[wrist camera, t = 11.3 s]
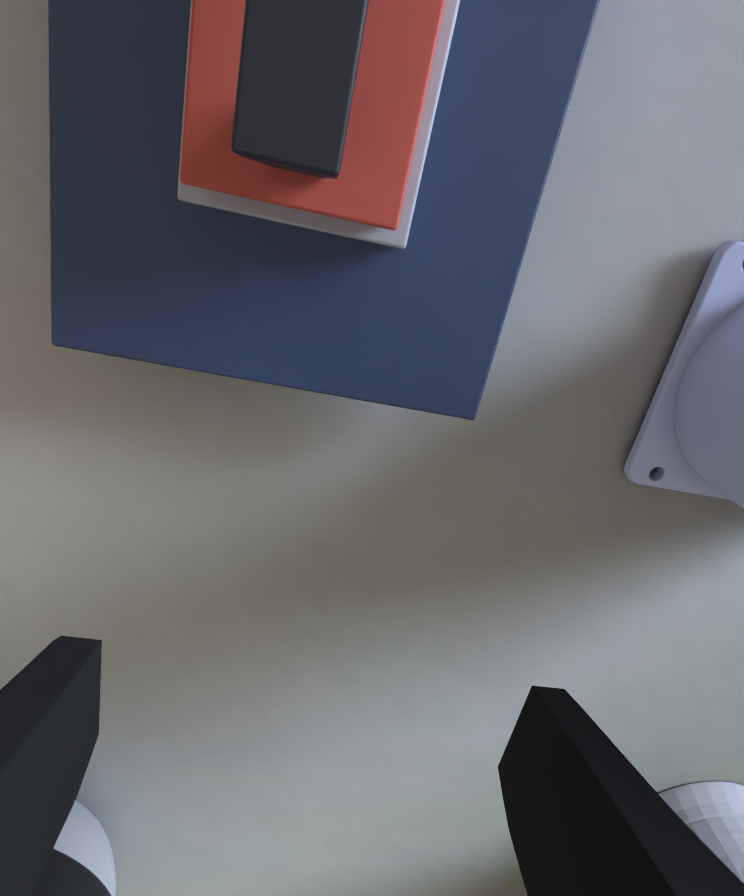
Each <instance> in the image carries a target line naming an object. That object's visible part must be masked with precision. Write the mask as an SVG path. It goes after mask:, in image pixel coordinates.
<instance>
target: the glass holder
mask: <svg viewBox="0 0 744 896" xmlns="http://www.w3.org/2000/svg"><path fill="white" fill-rule="evenodd" d="M658 794H659V795H660V797H661V798H662V799H663V800H664V801H665V802H666V803H667V804H668V805H669V806H670V807H671V809H672V810H673V811H674V812H675V813H676V814H677V815H678V816H679V817H680V818H681V819H682V820H683V821H684V823H685V824H686V825H687V826H688V827H689V828H690V829H691V830H692V831H693V832H694V833H695V834H696V835H697V836H698V837H699V838H700V839H701V841H702V842H703V843H704V844H705V845H706V846H707V847H708V848H709V849H710V850H711V851H712V852H713V853H714V854H715V855H716V856H717V857H718V858H719V859H720V860H721V861H722V862H723V863H724V864H725V865H726V866H727V867H728V868H729V869H730V870H731V871H732V872H733V873H734V874H735V875H736V876H737V877H738V878H739V879H740V880H741V881H742V882H743V883H744V786H743V785H739V784H735V783H729V782H700V783H693V784H687V785H683V786H679V787H675V788H672V789H669V790H666V791H664V792H661V793H658Z"/></svg>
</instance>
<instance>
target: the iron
mask: <svg viewBox="0 0 744 896" xmlns="http://www.w3.org/2000/svg"><path fill="white" fill-rule="evenodd" d="M459 4H460V0H191V7H190V21H189V35H188V50H187V64H186V78H185V93H184V107H183V121H182V136H181V150H180V164H179V179H178V193H177V196H178V199H179V200H181V201H184V202H189V203H193V204H198V205H203V206H207V207H212V208H216V209H221V210H225V211H230V212H235V213H239V214H244V215H248V216H253V217H257V218H262V219H267V220H271V221H276V222H280V223H285V224H289V225H294V226H299V227H303V228H308V229H312V230H317V231H322V232H326V233H331V234H335V235H340V236H344V237H349V238H354V239H358V240H363V241H367V242H372V243H376V244H381V245H386V246H390V247H395V248H399V249H404V248H405V247H406V244H407V240H408V235H409V231H410V226H411V222H412V217H413V213H414V208H415V204H416V199H417V195H418V190H419V185H420V181H421V176H422V172H423V167H424V163H425V158H426V154H427V149H428V145H429V140H430V135H431V131H432V126H433V122H434V117H435V113H436V108H437V104H438V99H439V95H440V90H441V86H442V81H443V76H444V72H445V67H446V63H447V58H448V54H449V49H450V45H451V40H452V36H453V31H454V26H455V22H456V17H457V13H458V8H459Z"/></svg>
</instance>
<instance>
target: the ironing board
mask: <svg viewBox="0 0 744 896" xmlns="http://www.w3.org/2000/svg"><path fill="white" fill-rule="evenodd" d="M599 1H600V0H460V4H459V8H458V13H457V17H456V22H455V26H454V31H453V36H452V40H451V45H450V49H449V54H448V58H447V63H446V67H445V72H444V76H443V81H442V86H441V90H440V95H439V99H438V104H437V108H436V113H435V117H434V122H433V126H432V131H431V135H430V140H429V145H428V149H427V154H426V158H425V163H424V167H423V172H422V176H421V181H420V185H419V190H418V195H417V199H416V204H415V208H414V213H413V217H412V222H411V226H410V231H409V235H408V240H407V244H406V247H405V248H404V249H399V248H395V247H390V246H386V245H381V244H376V243H372V242H367V241H363V240H358V239H354V238H349V237H344V236H340V235H335V234H331V233H326V232H322V231H317V230H312V229H308V228H303V227H299V226H294V225H289V224H285V223H280V222H276V221H271V220H267V219H262V218H257V217H253V216H248V215H244V214H239V213H235V212H230V211H225V210H221V209H216V208H212V207H207V206H203V205H198V204H193V203H189V202H184V201H181V200H179V199H178V196H177V193H178V179H179V164H180V150H181V136H182V121H183V107H184V93H185V78H186V64H187V50H188V35H189V21H190V7H191V0H48V9H49V112H50V214H51V316H52V344H53V345H55V346H59V347H65V348H71V349H76V350H82V351H88V352H93V353H99V354H104V355H110V356H116V357H121V358H127V359H132V360H138V361H144V362H149V363H155V364H160V365H166V366H172V367H177V368H183V369H189V370H194V371H200V372H205V373H211V374H217V375H222V376H228V377H233V378H239V379H245V380H250V381H256V382H261V383H267V384H273V385H278V386H284V387H290V388H295V389H301V390H306V391H312V392H318V393H323V394H329V395H334V396H340V397H346V398H351V399H357V400H362V401H368V402H374V403H379V404H385V405H391V406H396V407H402V408H407V409H413V410H419V411H424V412H430V413H435V414H441V415H447V416H452V417H458V418H463V419H469V420H474V419H475V417H476V413H477V410H478V407H479V403H480V400H481V397H482V393H483V390H484V387H485V383H486V380H487V377H488V373H489V370H490V366H491V363H492V360H493V356H494V353H495V350H496V346H497V343H498V340H499V336H500V333H501V330H502V326H503V323H504V320H505V316H506V313H507V309H508V306H509V303H510V299H511V296H512V293H513V289H514V286H515V283H516V279H517V276H518V273H519V269H520V266H521V262H522V259H523V256H524V252H525V249H526V246H527V242H528V239H529V236H530V232H531V229H532V226H533V222H534V219H535V216H536V212H537V209H538V205H539V202H540V199H541V195H542V192H543V189H544V185H545V182H546V179H547V175H548V172H549V169H550V165H551V162H552V159H553V155H554V152H555V148H556V145H557V142H558V138H559V135H560V132H561V128H562V125H563V122H564V118H565V115H566V112H567V108H568V105H569V102H570V98H571V95H572V91H573V88H574V85H575V81H576V78H577V75H578V71H579V68H580V65H581V61H582V58H583V55H584V51H585V48H586V44H587V41H588V38H589V34H590V31H591V28H592V24H593V21H594V18H595V14H596V11H597V8H598V4H599Z"/></svg>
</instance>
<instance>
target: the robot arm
mask: <svg viewBox="0 0 744 896" xmlns="http://www.w3.org/2000/svg"><path fill="white" fill-rule="evenodd" d="M743 261H744V242H741V241H728V242H726V243H723V244H722V245H721V246H720V247H719V248H717V250H716V252H715V253H714V255H713V257H712V260H711V262H710V264H709V267H708V269H707V271H706V274H705V276H704V279H703V281H702V283H701V286H700V288H699V290H698V293H697V295H696V298H695V300H694V302H693V305H692V307H691V309H690V312H689V314H688V316H687V319H686V321H685V324H684V326H683V328H682V331H681V333H680V335H679V338H678V340H677V343H676V345H675V347H674V350H673V352H672V354H671V357H670V359H669V362H668V364H667V366H666V369H665V371H664V373H663V376H662V378H661V381H660V383H659V385H658V388H657V390H656V392H655V395H654V397H653V399H652V402H651V404H650V407H649V409H648V411H647V414H646V416H645V418H644V421H643V423H642V426H641V428H640V430H639V433H638V435H637V437H636V440H635V442H634V445H633V447H632V449H631V452H630V454H629V456H628V459H627V461H626V464H625V467H624V473H625V475H626V476H627V478H628V479H629V480H631V481H632V482H633V483H636V484H640V485H646V486H652V487H658V488H664V489H670V490H676V491H682V492H688V493H694V494H699V495H705V496H711V497H717V498H723V499H729V500H732V501H734V502H735V503H736V504H738V505H739V506H740V507H742V508H743V509H744V270H743V267H742V264H743ZM655 467H658V470H657V472H656V473H655V474H653V475H650V476H649V473H650V471H651V470H652V469H654V468H655ZM101 646H102V640H95V639H86V638H76V637H67V636H60V637H58V638H57V639H55V640H54V641H52V642H51V643H50V644H49V645H48V646H47V647H46V648H45V649H44V650H43V651H42V652H41V653H40V654H39V655H38V656H36V657H35V658H34V659H33V660H32V661H31V662H30V663H29V664H28V665H27V666H26V667H25V668H24V669H23V670H22V671H20V672H19V673H18V674H17V675H16V676H15V677H14V678H13V679H12V680H11V681H10V682H9V683H7V684H6V685H5V686H4V687H3V688H2V689H1V690H0V896H31V895H32V892H33V890H34V888H35V886H36V884H37V882H38V880H39V878H40V876H41V873H42V871H43V869H44V867H45V865H46V863H47V861H48V858H49V856H50V854H51V852H52V850H53V848H54V846H55V843H56V841H57V839H58V837H59V835H60V833H61V831H62V828H63V826H64V824H65V822H66V820H67V818H68V815H69V813H70V811H71V809H72V807H73V805H74V802H75V799H76V797H77V794H78V791H79V788H80V786H81V783H82V780H83V777H84V775H85V772H86V769H87V766H88V763H89V760H90V757H91V754H92V752H93V749H94V746H95V743H96V740H97V737H98V734H99V709H100V678H101ZM498 770H499V776H500V782H501V788H502V794H503V800H504V806H505V811H506V816H507V821H508V827H509V832H510V835H511V839H512V843H513V846H514V850H515V853H516V857H517V860H518V863H519V867H520V870H521V874H522V877H523V881H524V884H525V888H526V891H527V894H528V896H744V883H743V882H742V881H741V880H740V879H739V878H738V877H737V876H736V875H735V874H734V873H733V872H732V871H731V870H730V869H729V868H728V867H727V866H726V865H725V864H724V863H723V862H722V861H721V860H720V859H719V858H718V857H717V856H716V855H715V854H714V853H713V852H712V851H711V850H710V849H709V848H708V847H707V846H706V845H705V844H704V843H703V842H702V841H701V839H700V838H699V837H698V836H697V835H696V834H695V833H694V832H693V831H692V830H691V829H690V828H689V827H688V826H687V825H686V824H685V823H684V821H683V820H682V819H681V818H680V817H679V816H678V815H677V814H676V813H675V812H674V811H673V810H672V809H671V807H670V806H669V805H668V804H667V803H666V802H665V801H664V800H663V799H662V798H661V797H660V795H659V794H658V793H657V792H656V791H655V790H654V789H653V788H652V787H651V786H650V784H649V783H648V782H647V781H646V780H645V779H644V778H643V777H642V775H641V774H640V773H639V772H638V771H637V770H636V769H635V768H634V767H633V765H632V764H631V763H630V762H629V761H628V760H627V759H626V757H625V756H624V755H623V754H622V753H621V752H620V751H619V750H618V748H617V747H616V746H615V745H614V744H613V743H612V742H611V740H610V739H609V738H608V737H607V736H606V735H605V734H604V732H603V731H602V730H601V729H600V728H599V727H598V726H597V724H596V723H595V722H594V721H593V720H592V719H591V718H590V717H589V715H588V714H587V713H586V712H585V711H584V710H583V709H582V708H581V706H580V705H579V704H578V703H577V702H576V701H575V700H574V699H573V698H572V697H571V696H570V695H569V694H568V692H567V691H566V690H565V689H558V688H549V687H539V686H532V687H531V689H530V692H529V694H528V696H527V699H526V701H525V704H524V706H523V708H522V711H521V713H520V716H519V718H518V720H517V723H516V725H515V727H514V730H513V732H512V735H511V737H510V739H509V742H508V744H507V747H506V749H505V751H504V754H503V756H502V758H501V761H500V763H499V766H498Z"/></svg>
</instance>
